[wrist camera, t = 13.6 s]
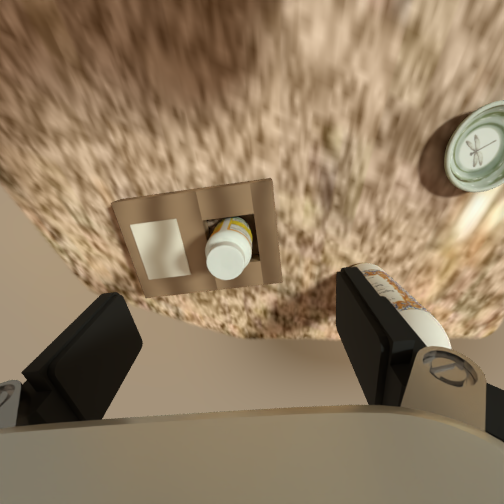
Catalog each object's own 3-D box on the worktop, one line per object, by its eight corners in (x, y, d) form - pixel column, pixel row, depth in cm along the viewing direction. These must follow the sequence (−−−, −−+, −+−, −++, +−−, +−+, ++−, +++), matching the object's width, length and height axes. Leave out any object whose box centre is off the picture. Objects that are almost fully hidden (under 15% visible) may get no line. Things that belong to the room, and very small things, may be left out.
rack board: (270, 178, 31) (272, 180, 28) (280, 274, 36) (282, 283, 33) (121, 199, 32) (110, 203, 29) (152, 289, 37) (145, 298, 35)
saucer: (528, 150, 29) (551, 150, 27) (453, 204, 32) (468, 208, 30) (496, 82, 27) (519, 76, 24) (417, 148, 29) (431, 148, 27)
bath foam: (376, 253, 35) (517, 370, 16) (389, 290, 37) (524, 428, 18) (331, 273, 36) (413, 402, 17) (346, 307, 38) (432, 452, 20)
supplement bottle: (248, 212, 32) (246, 234, 23) (255, 248, 34) (256, 281, 25) (210, 219, 33) (193, 243, 24) (219, 254, 35) (207, 289, 26)
